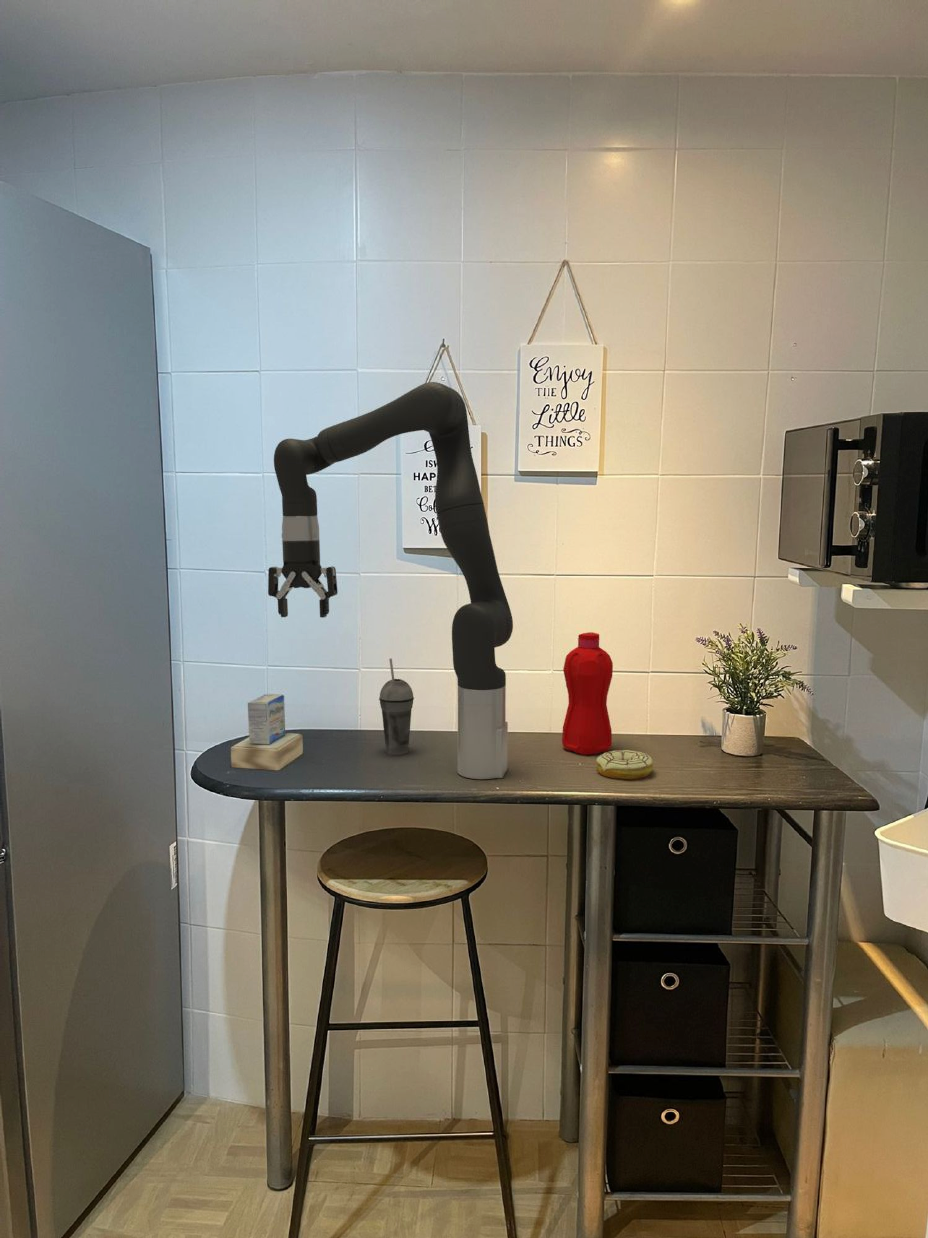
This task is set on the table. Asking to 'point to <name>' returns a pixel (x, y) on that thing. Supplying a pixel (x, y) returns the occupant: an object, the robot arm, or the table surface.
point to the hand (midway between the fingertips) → (303, 617)
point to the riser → (267, 753)
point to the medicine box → (266, 719)
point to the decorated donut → (624, 764)
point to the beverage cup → (396, 714)
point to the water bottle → (587, 697)
